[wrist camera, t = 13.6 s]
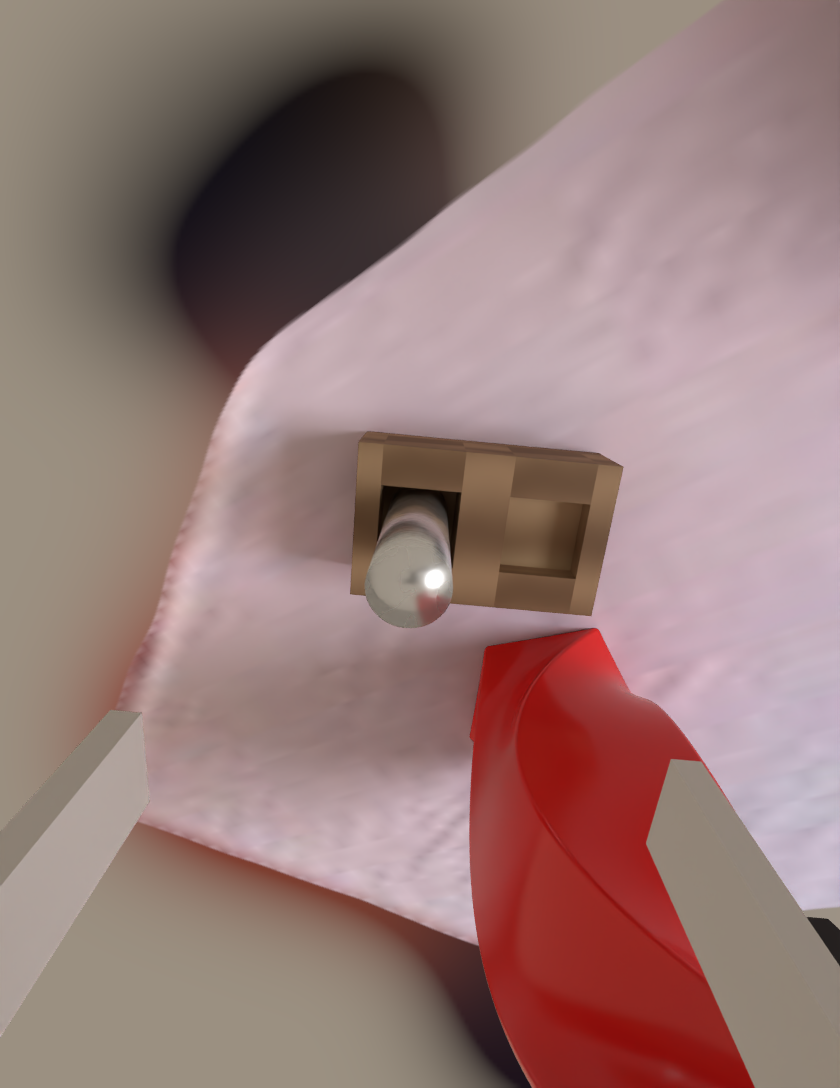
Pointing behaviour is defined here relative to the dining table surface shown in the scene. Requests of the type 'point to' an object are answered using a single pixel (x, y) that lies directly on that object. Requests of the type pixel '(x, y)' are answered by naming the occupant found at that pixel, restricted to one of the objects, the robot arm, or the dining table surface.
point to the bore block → (497, 516)
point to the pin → (412, 561)
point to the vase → (583, 877)
